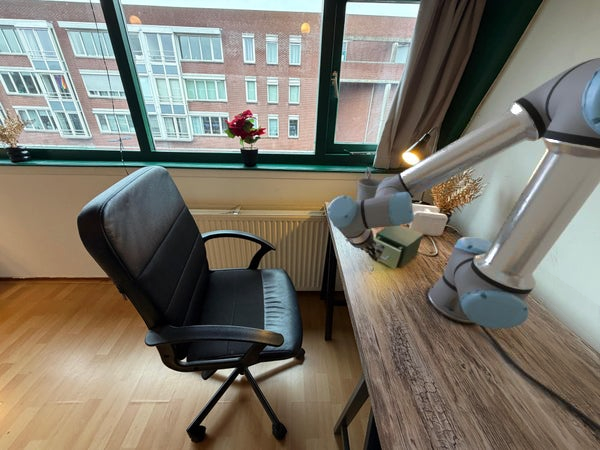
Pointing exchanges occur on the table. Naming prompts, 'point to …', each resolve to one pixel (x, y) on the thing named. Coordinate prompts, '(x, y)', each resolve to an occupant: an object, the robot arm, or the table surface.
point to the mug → (367, 187)
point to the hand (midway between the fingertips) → (376, 257)
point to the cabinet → (403, 240)
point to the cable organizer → (428, 220)
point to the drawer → (389, 252)
